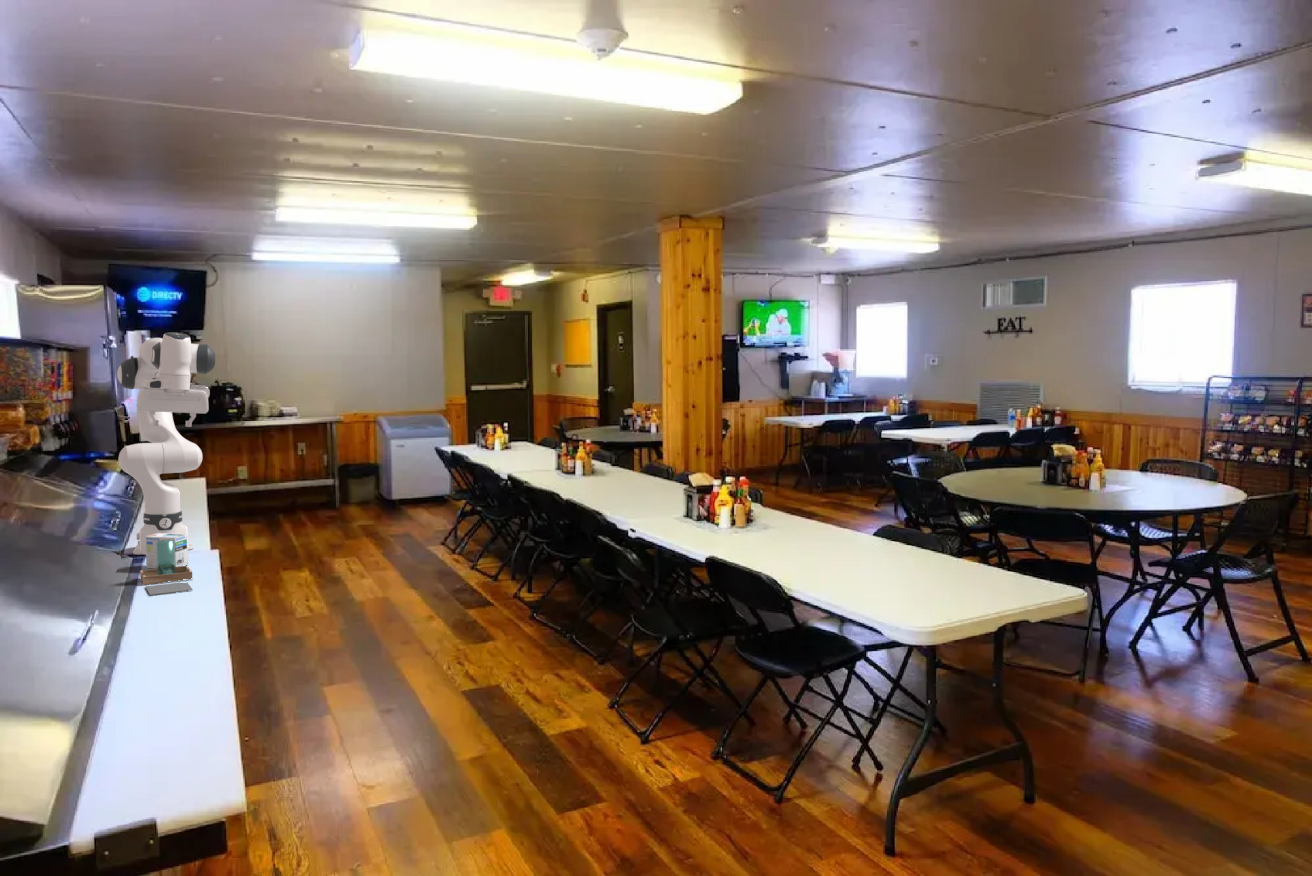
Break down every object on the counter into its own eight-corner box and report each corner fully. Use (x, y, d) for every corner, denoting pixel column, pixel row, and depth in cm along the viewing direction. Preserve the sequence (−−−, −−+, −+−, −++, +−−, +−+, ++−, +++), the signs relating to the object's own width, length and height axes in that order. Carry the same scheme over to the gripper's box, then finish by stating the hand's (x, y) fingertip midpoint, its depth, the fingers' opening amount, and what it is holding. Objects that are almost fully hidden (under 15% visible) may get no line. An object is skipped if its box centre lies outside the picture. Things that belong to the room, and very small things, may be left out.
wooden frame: (140, 578, 268) (140, 570, 268) (187, 573, 276) (187, 565, 276) (144, 585, 260) (143, 577, 260) (192, 579, 268) (192, 571, 268)
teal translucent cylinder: (156, 578, 269) (155, 540, 268) (174, 576, 272) (173, 539, 271) (158, 581, 265) (157, 543, 264) (176, 579, 268) (175, 541, 267)
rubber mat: (145, 587, 258) (145, 586, 258) (186, 582, 264) (186, 581, 264) (149, 595, 249) (149, 594, 249) (192, 590, 255) (192, 589, 255)
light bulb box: (189, 565, 287) (188, 533, 286) (176, 569, 280) (175, 537, 279) (159, 563, 288) (158, 532, 287) (145, 568, 281) (144, 535, 281)
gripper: (207, 384, 285) (205, 425, 286) (136, 380, 272) (134, 423, 273) (212, 386, 280) (209, 428, 281) (140, 382, 267) (137, 426, 268)
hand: (172, 426), depth 277 cm, fingers open, 8 cm apart
